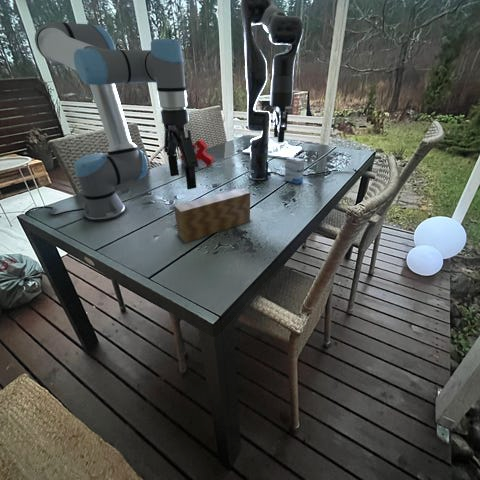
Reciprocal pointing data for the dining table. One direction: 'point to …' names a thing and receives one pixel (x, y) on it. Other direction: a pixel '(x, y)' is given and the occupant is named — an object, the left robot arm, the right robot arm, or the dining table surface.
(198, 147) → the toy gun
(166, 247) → the dining table surface
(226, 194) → the box
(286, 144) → the relief map
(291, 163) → the ink box
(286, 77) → the right robot arm
